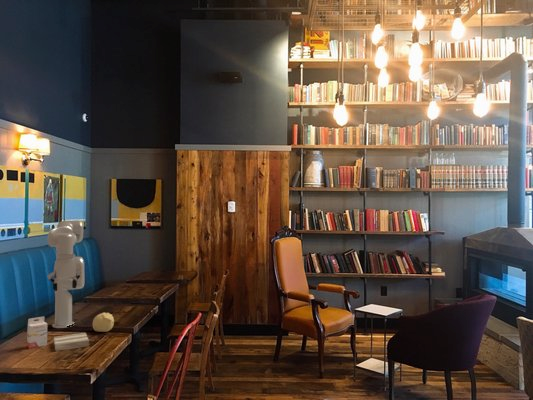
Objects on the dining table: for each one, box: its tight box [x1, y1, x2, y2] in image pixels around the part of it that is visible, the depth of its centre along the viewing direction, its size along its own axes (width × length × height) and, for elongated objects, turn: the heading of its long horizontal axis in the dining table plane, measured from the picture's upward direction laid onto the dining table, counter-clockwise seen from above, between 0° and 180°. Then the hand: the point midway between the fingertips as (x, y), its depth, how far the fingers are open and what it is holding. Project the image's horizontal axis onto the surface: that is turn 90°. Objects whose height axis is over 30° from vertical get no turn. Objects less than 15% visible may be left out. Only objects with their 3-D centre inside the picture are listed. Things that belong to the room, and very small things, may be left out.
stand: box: [53, 332, 90, 352], centre depth 226 cm, size 16×16×3 cm
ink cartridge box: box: [26, 316, 48, 349], centre depth 224 cm, size 9×5×15 cm, turn 134°
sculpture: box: [92, 312, 115, 333], centre depth 252 cm, size 12×12×11 cm
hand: (64, 289), depth 224 cm, fingers open, 9 cm apart
